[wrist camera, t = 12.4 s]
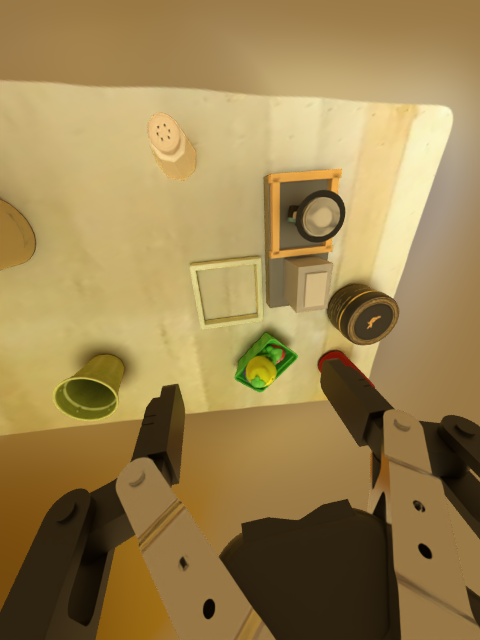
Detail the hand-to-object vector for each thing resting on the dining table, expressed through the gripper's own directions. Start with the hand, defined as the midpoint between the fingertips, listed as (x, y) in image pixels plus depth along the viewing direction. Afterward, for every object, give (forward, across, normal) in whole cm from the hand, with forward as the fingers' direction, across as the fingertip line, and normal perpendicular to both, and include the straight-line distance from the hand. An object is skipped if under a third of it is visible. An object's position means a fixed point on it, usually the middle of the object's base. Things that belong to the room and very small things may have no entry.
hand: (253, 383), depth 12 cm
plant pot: (+28, +24, +17) cm, 41 cm away
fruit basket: (+28, -6, +19) cm, 35 cm away
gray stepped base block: (+28, -13, -2) cm, 31 cm away
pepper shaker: (+28, +4, -15) cm, 32 cm away
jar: (+28, -25, +11) cm, 39 cm away
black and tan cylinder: (+25, -14, -6) cm, 29 cm away
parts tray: (+28, -1, +5) cm, 29 cm away
